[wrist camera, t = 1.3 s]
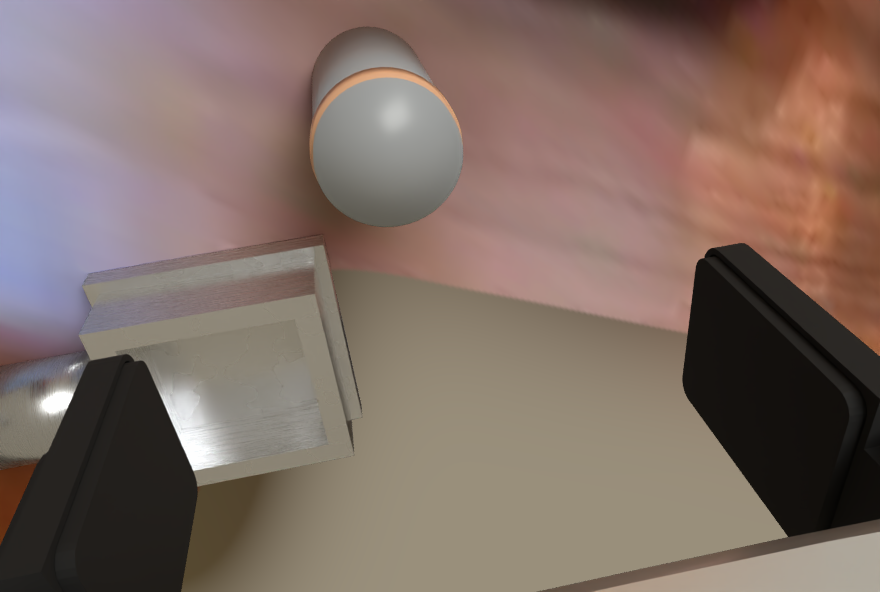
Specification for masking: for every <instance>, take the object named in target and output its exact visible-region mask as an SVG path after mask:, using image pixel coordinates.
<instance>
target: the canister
mask: <svg viewBox="0 0 880 592" xmlns="http://www.w3.org/2000/svg"><path fill="white" fill-rule="evenodd" d="M312 118H313V120H312V124H311V129H310V160H311V165H312V169H313V172H314V175H315V177H316V179H317V182H318V183H319V185H320V187H321V189H322V191H323V193H324V194H325V196H326V197H327V198H328V200H329V201H330V202H331V203H332V204H333V205H334V206H335V207H336V208H337V209H338V210H339V211H341V212H342V213H343V214H345V215H346V216H348V217H350V218H352V219H354V220H356V221H358V222H361V223H364V224H368V225H372V226H379V227H394V226H401V225H406V224H410V223H412V222H415V221H418V220H420V219H422V218H424V217H426V216H427V215H429V214H430V213H432V212H433V211H435V210H436V209H437V208H438V207H439V206H441V204H442V203H443V202H444V201H445V200H446V199H447V198H448V196H449V195H450V194H451V192H452V191H453V189H454V187H455V185H456V183H457V181H458V178H459V176H460V172H461V168H462V162H463V145H462V135H461V129H460V126H459V123H458V120H457V118H456V116H455V114H454V112H453V110H452V108H451V107H450V105H449V103H448V102H447V100H446V99H445V97H444V96H443V95H442V93H441V92H440V91H439V90H438V89H437V88H436V87H435V86H434V84H433V83H432V81H431V79H430V77H429V76H428V74H427V72H426V71H425V69H424V67H423V66H422V64H421V62H420V60H419V59H418V57H417V55H416V54H415V52H414V51H413V49H412V48H411V47H410V46H409V45H408V44H407V43H406V42H405V41H404V40H403V39H402V38H400V37H399V36H397V35H396V34H394V33H392V32H390V31H387V30H384V29H381V28H376V27H359V28H354V29H351V30H348V31H345V32H343V33H341V34H339V35H338V36H336V37H335V38H333V39H332V40H331V41H330V42H329V43H328V44H327V45H326V46H325V47H324V49H323V50H322V51H321V53H320V55H319V56H318V58H317V61H316V63H315V66H314V69H313V75H312Z"/></svg>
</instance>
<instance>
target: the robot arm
mask: <svg viewBox="0 0 880 592" xmlns="http://www.w3.org/2000/svg"><path fill="white" fill-rule="evenodd" d="M683 387H684V391H685V394H686V396H687V398H688V399H689V401H690V402H691V404H692V405H693V406H694V407H695V409H696V410H697V412H698V413H699V415H700V416H701V417H702V418H703V420H704V421H705V423H706V424H707V425H708V427H709V428H710V430H711V431H712V432H713V434H714V435H715V437H716V438H717V439H718V441H719V442H720V443H721V445H722V446H723V448H724V449H725V450H726V452H727V453H728V455H729V456H730V457H731V459H732V460H733V461H734V463H735V464H736V466H737V467H738V468H739V470H740V471H741V472H742V474H743V475H744V476H745V478H746V479H747V481H748V482H749V483H750V485H751V486H752V488H753V489H754V490H755V492H756V493H757V494H758V496H759V497H760V499H761V500H762V501H763V503H764V504H765V505H766V507H767V508H768V509H769V511H770V512H771V514H772V515H773V516H774V518H775V519H776V521H777V522H778V523H779V525H780V526H781V527H782V529H783V530H784V532H785V533H786V534H787V536H788V537H787V538H782V539H778V540H773V541H769V542H764V543H759V544H754V545H750V546H745V547H741V548H736V549H732V550H727V551H722V552H717V553H713V554H708V555H704V556H699V557H694V558H689V559H685V560H680V561H676V562H671V563H666V564H661V565H657V566H652V567H648V568H643V569H638V570H634V571H629V572H624V573H620V574H615V575H611V576H607V577H602V578H598V579H593V580H588V581H584V582H580V583H574V584H570V585H566V586H561V587H556V588H552V589H547V590H543V591H538V592H880V356H879V355H877V354H876V353H875V352H874V351H873V350H871V349H870V348H869V347H868V346H867V345H866V344H864V343H863V342H862V341H861V340H860V339H858V338H857V337H856V336H855V335H854V334H853V333H851V332H850V331H849V330H848V329H847V328H845V327H844V326H843V325H842V324H841V323H839V322H838V321H837V320H836V319H835V318H834V317H832V316H831V315H830V314H829V313H828V312H826V311H825V310H824V309H823V308H822V307H821V306H819V305H818V304H817V303H816V302H815V301H813V300H812V299H811V298H810V297H809V296H808V295H806V294H805V293H804V292H803V291H802V290H800V289H799V288H798V287H797V286H796V285H794V284H793V283H792V282H791V281H790V280H789V279H787V278H786V277H785V276H784V275H783V274H781V273H780V272H779V271H778V270H777V269H776V268H774V267H773V266H772V265H771V264H770V263H768V262H767V261H766V260H765V259H764V258H762V257H761V256H760V255H759V254H758V253H757V252H755V251H754V250H753V249H752V248H751V247H749V246H748V245H746V244H745V243H739V244H733V245H728V246H722V247H716V248H711V249H709V250H708V251H707V253H706V254H705V258H702V259H700V260H699V261H698V262H697V265H696V271H695V279H694V287H693V295H692V304H691V312H690V320H689V328H688V336H687V345H686V353H685V362H684V369H683ZM197 494H198V492H197V481H196V477H195V474H194V471H193V469H192V467H191V465H190V462H189V460H188V458H187V455H186V453H185V451H184V449H183V446H182V444H181V442H180V439H179V437H178V435H177V433H176V430H175V428H174V426H173V423H172V421H171V419H170V417H169V414H168V412H167V410H166V407H165V405H164V403H163V400H162V398H161V396H160V394H159V391H158V389H157V387H156V384H155V382H154V380H153V378H152V375H151V373H150V371H149V368H148V367H147V365H146V363H145V362H144V361H142V360H140V361H134V359H133V358H132V357H131V356H130V355H128V354H123V355H118V356H112V357H107V358H101V359H96V360H91V361H89V362H88V364H87V365H86V367H85V369H84V371H83V374H82V376H81V378H80V380H79V383H78V385H77V387H76V390H75V392H74V394H73V396H72V399H71V401H70V403H69V405H68V408H67V410H66V412H65V414H64V417H63V419H62V421H61V423H60V426H59V428H58V430H57V432H56V435H55V437H54V439H53V441H52V444H51V446H50V448H49V451H48V452H47V453H45V454H44V455H43V456H42V457H41V459H40V460H39V462H38V463H37V466H36V468H35V470H34V472H33V474H32V477H31V479H30V481H29V483H28V485H27V488H26V490H25V492H24V494H23V497H22V499H21V501H20V503H19V505H18V508H17V510H16V512H15V514H14V516H13V519H12V521H11V523H10V525H9V528H8V530H7V532H6V534H5V536H4V539H3V541H2V543H1V545H0V592H181V589H182V583H183V577H184V571H185V565H186V559H187V553H188V547H189V542H190V536H191V530H192V525H193V519H194V513H195V507H196V501H197Z"/></svg>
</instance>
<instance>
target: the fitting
mask: <svg viewBox="0 0 880 592" xmlns="http://www.w3.org/2000/svg"><path fill="white" fill-rule="evenodd" d="M82 287H83V289H84V291H85V293H86V295H87V298H88V300H89V302H90V304H91V306H92V309H91V311H90V313H89V315H88V317H87V319H86V321H85V323H84V325H83V327H82V329H81V331H80V333H79V337H80V339H81V341H82V343H83V345H84V347H85V349H86V351H82V352H76V353H71V354H65V355H59V356H54V357H48V358H43V359H37V360H31V361H26V362H20V363H14V364H9V365H3V366H0V470H3V469H8V468H13V467H18V466H24V465H29V464H34V463H38V462H39V460H40V459H41V457H42V456H43V455H44V454H45V453H47V452H48V451H49V448H50V446H51V444H52V441H53V439H54V437H55V435H56V432H57V430H58V428H59V426H60V423H61V421H62V419H63V417H64V414H65V412H66V410H67V408H68V405H69V403H70V401H71V399H72V396H73V394H74V392H75V390H76V387H77V385H78V383H79V380H80V378H81V376H82V374H83V371H84V369H85V367H86V365H87V364H88V362H89V361H91V360H96V359H101V358H107V357H112V356H118V355H123V354H128V355H130V356H131V357H132V358H133V359H134V361H140V360H142V361H144V362H145V363H146V365H147V367H148V368H149V371H150V373H151V375H152V378H153V380H154V382H155V384H156V387H157V389H158V391H159V394H160V396H161V398H162V400H163V403H164V405H165V407H166V410H167V412H168V414H169V417H170V419H171V421H172V423H173V426H174V428H175V430H176V433H177V435H178V437H179V439H180V442H181V444H182V446H183V449H184V451H185V453H186V455H187V458H188V460H189V462H190V465H191V467H192V469H193V471H194V474H195V477H196V481H197V486H202V485H207V484H213V483H218V482H223V481H227V480H233V479H238V478H243V477H248V476H253V475H258V474H264V473H269V472H274V471H279V470H284V469H289V468H294V467H299V466H304V465H310V464H315V463H320V462H325V461H330V460H335V459H340V458H345V457H350V456H354V444H353V432H352V420H353V419H358V418H362V407H361V402H360V397H359V393H358V388H357V384H356V379H355V375H354V371H353V366H352V361H351V357H350V352H349V348H348V343H347V339H346V335H345V331H344V326H343V321H342V317H341V313H340V308H339V303H338V299H337V294H336V290H335V286H334V281H333V277H332V272H331V268H330V263H329V259H328V254H327V250H326V245H325V241H324V237H323V234H322V235H316V236H310V237H304V238H298V239H292V240H286V241H280V242H274V243H268V244H262V245H257V246H251V247H245V248H239V249H233V250H227V251H221V252H215V253H209V254H203V255H197V256H191V257H185V258H179V259H173V260H167V261H161V262H156V263H150V264H144V265H138V266H132V267H126V268H120V269H114V270H108V271H102V272H96V273H90V274H88V276H87V278H86V279H85V281H84V283H83V285H82Z"/></svg>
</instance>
